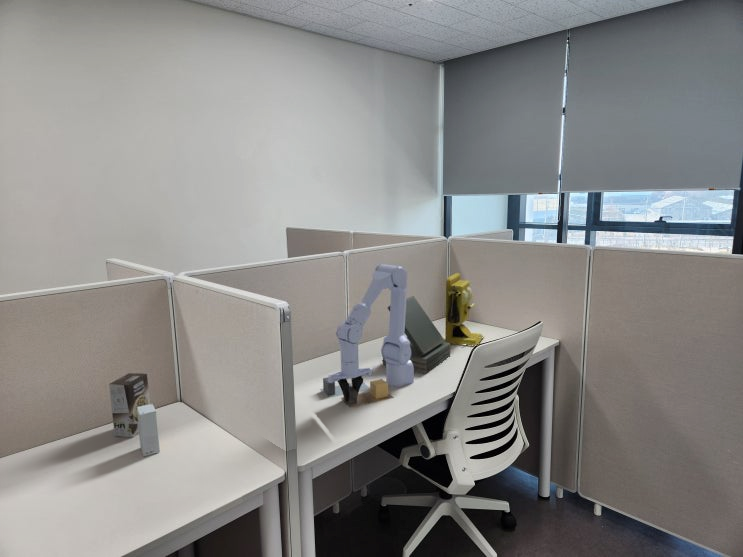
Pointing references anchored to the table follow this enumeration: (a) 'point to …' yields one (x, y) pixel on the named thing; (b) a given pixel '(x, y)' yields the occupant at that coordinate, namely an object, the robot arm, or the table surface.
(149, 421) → the skincare box
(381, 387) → the ochre block
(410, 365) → the robot arm
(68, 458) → the table surface
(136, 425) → the coffee box
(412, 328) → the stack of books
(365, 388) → the grey strip
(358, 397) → the walnut strip
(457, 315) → the vintage telephone
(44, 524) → the table surface
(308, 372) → the table surface
